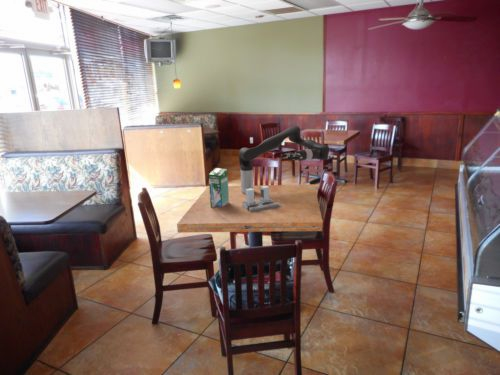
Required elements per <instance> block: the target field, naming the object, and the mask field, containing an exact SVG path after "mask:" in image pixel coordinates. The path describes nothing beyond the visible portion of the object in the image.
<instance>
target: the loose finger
mask: <svg viewBox="0 0 500 375" xmlns="http://www.w3.org/2000/svg"><path fill="white" fill-rule="evenodd" d="M260 199H261V201H262V202H266V201H269V199H270V186H268V185H262V186H260Z"/></svg>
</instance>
